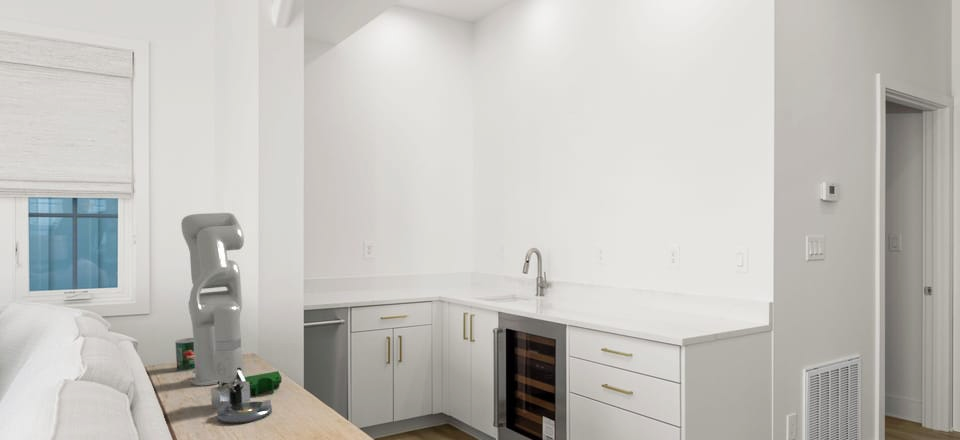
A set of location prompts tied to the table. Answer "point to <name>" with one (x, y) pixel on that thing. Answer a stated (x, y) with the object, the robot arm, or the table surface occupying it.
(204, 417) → the table surface
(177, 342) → the canned tomato
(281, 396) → the table surface
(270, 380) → the clamp
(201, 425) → the table surface
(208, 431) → the table surface
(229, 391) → the striped grey block
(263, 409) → the shallow grey dish
